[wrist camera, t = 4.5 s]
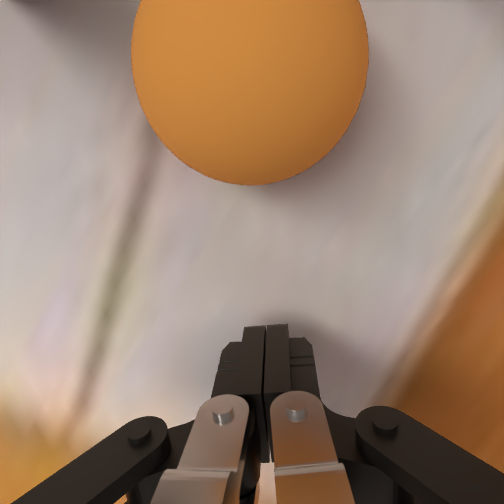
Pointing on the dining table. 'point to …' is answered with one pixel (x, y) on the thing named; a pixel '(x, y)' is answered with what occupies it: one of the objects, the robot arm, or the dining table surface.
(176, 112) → the ball
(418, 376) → the dining table surface
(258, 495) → the robot arm
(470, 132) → the dining table surface
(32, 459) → the dining table surface
